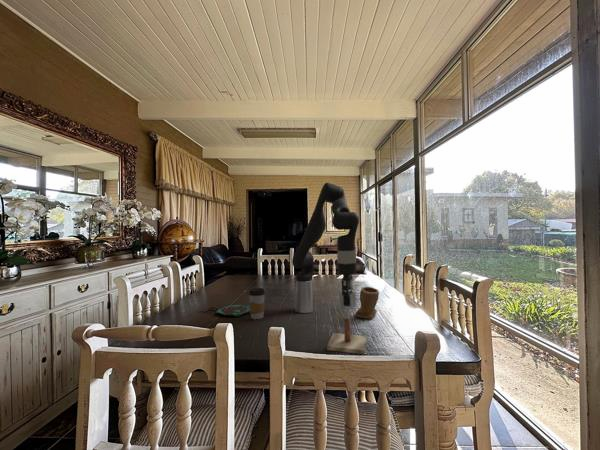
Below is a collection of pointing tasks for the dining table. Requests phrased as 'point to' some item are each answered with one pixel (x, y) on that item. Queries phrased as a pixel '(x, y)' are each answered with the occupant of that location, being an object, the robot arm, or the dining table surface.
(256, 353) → the dining table surface
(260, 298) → the coffee cup
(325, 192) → the robot arm
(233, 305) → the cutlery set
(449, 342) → the dining table surface
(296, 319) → the dining table surface
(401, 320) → the dining table surface
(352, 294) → the ring
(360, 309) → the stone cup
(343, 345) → the post stand
